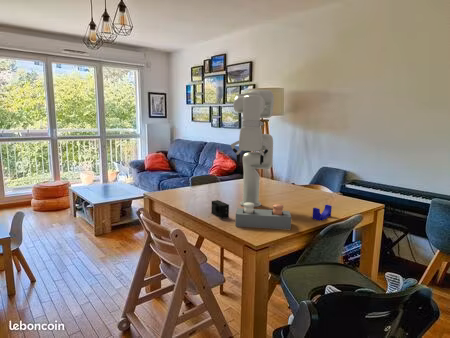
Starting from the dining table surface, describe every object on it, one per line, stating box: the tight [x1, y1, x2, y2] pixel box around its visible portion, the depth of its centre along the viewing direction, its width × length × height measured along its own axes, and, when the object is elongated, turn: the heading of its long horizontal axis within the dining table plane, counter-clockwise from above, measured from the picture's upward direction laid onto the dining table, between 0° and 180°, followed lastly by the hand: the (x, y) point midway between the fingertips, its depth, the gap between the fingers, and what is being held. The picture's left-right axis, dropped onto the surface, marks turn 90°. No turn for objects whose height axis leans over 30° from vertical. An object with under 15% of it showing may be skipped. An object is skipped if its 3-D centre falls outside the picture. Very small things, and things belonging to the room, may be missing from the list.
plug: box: [243, 202, 255, 214], centre depth 148 cm, size 5×5×6 cm
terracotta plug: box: [272, 203, 284, 215], centre depth 147 cm, size 5×5×6 cm
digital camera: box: [211, 199, 230, 219], centre depth 160 cm, size 10×5×7 cm, turn 35°
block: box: [234, 207, 292, 231], centre depth 148 cm, size 10×26×6 cm, turn 83°
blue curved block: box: [311, 204, 333, 222], centre depth 160 cm, size 12×4×6 cm, turn 127°
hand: (249, 163), depth 133 cm, fingers open, 9 cm apart
